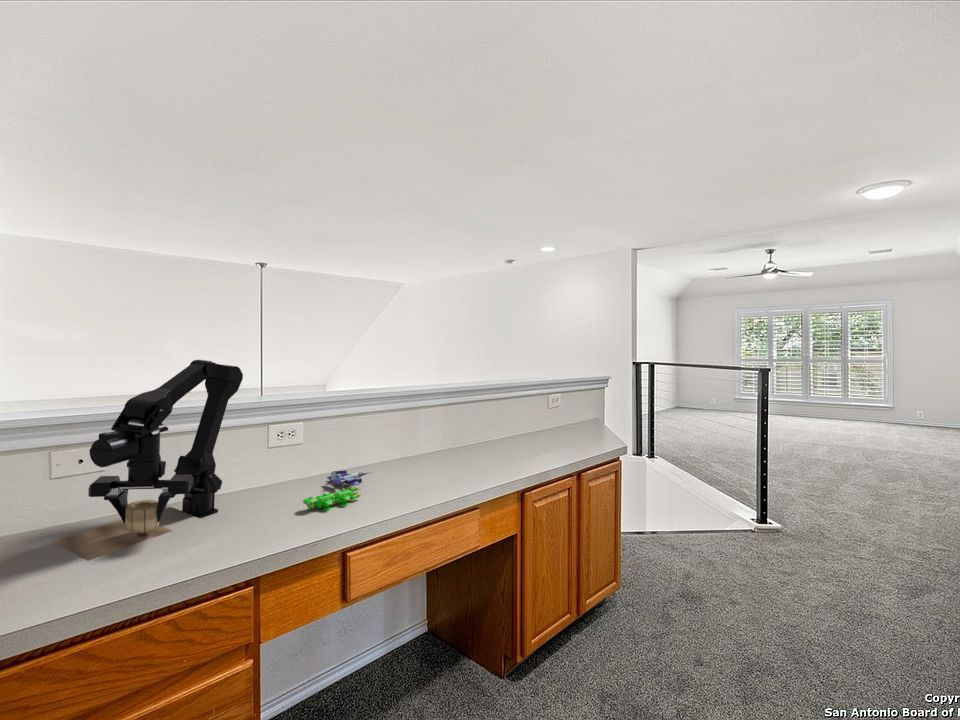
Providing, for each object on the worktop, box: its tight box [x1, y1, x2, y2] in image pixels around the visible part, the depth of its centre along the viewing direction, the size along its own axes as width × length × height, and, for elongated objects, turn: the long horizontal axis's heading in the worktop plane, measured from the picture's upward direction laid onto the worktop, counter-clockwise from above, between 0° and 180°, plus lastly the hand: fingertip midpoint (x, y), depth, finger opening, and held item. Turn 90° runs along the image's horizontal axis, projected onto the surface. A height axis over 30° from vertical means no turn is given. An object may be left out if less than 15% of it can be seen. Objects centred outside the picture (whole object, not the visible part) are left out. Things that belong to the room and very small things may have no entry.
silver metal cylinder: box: [137, 531, 148, 537], centre depth 111 cm, size 2×2×5 cm
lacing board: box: [52, 519, 173, 561], centre depth 110 cm, size 17×14×2 cm
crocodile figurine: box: [302, 486, 362, 512], centre depth 140 cm, size 7×18×4 cm, turn 137°
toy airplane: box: [326, 470, 373, 490], centre depth 157 cm, size 13×14×4 cm
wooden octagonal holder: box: [125, 499, 160, 533], centre depth 111 cm, size 6×6×5 cm
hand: (142, 522), depth 111 cm, fingers closed on wooden octagonal holder, 6 cm apart
